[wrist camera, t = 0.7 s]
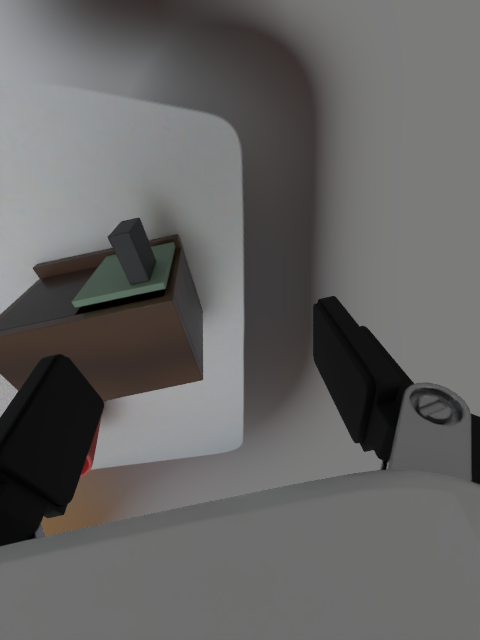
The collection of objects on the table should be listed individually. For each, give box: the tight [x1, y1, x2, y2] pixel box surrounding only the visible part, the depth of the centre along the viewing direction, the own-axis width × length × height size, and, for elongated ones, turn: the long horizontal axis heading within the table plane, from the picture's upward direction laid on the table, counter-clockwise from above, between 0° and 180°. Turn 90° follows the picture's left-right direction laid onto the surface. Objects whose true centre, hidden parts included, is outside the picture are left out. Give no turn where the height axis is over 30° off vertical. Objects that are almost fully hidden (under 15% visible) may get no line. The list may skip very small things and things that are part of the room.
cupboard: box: [0, 235, 203, 401], centre depth 27 cm, size 11×16×12 cm, turn 100°
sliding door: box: [72, 218, 175, 308], centre depth 23 cm, size 5×7×9 cm, turn 100°
